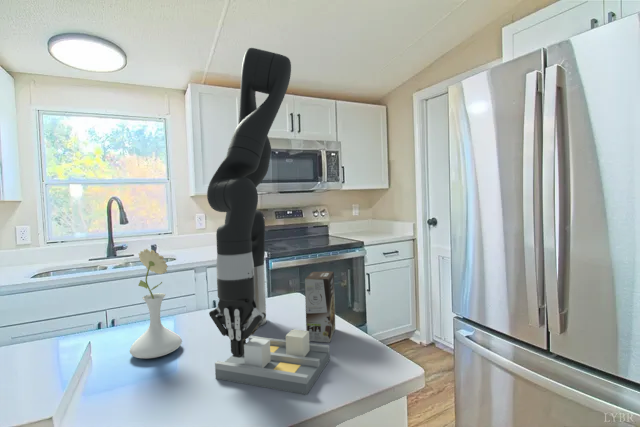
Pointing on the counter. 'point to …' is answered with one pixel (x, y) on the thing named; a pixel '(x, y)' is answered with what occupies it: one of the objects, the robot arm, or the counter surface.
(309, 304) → the coffee box
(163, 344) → the flower in vase
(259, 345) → the pale grey cube
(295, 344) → the cream cube
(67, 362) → the counter surface
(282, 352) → the grey ridged tray
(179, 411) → the counter surface
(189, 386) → the counter surface
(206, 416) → the counter surface
